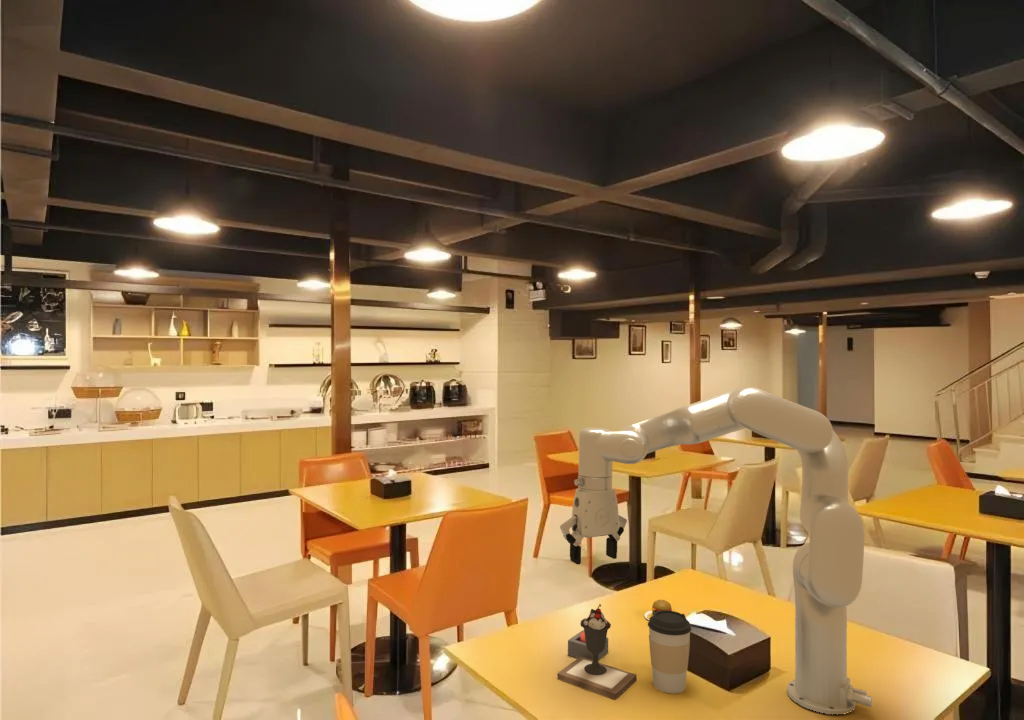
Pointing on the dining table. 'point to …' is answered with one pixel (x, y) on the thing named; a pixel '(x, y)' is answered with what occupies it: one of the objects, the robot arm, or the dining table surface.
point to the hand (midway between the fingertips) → (593, 559)
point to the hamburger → (659, 607)
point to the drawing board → (597, 678)
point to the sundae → (595, 639)
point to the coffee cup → (669, 650)
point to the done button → (582, 637)
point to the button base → (583, 648)
